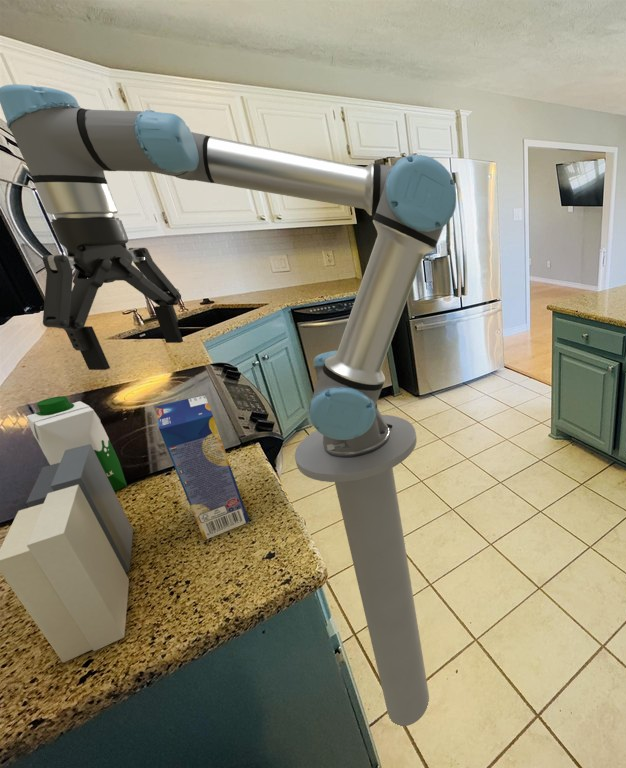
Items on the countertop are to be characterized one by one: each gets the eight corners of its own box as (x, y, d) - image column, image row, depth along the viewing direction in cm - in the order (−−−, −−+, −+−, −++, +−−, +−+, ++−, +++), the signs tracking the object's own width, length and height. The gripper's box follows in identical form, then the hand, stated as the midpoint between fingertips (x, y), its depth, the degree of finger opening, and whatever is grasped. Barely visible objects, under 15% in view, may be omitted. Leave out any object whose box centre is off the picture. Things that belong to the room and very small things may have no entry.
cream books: (129, 579, 63) (78, 484, 56) (124, 637, 54) (63, 532, 47) (76, 601, 59) (15, 502, 52) (62, 666, 51) (-14, 558, 44)
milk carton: (118, 472, 90) (79, 389, 82) (134, 485, 85) (94, 399, 77) (63, 494, 83) (14, 406, 75) (77, 509, 78) (27, 417, 70)
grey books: (133, 530, 73) (90, 443, 66) (129, 571, 64) (80, 477, 57) (88, 545, 70) (38, 456, 63) (78, 592, 61) (19, 494, 54)
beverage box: (238, 493, 82) (204, 394, 73) (249, 522, 74) (212, 415, 66) (197, 508, 78) (156, 405, 69) (204, 540, 70) (158, 429, 62)
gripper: (139, 216, 71) (181, 333, 79) (-53, 218, 48) (33, 383, 56) (179, 215, 70) (217, 333, 79) (4, 217, 48) (83, 383, 56)
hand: (140, 354), depth 68 cm, fingers open, 13 cm apart
